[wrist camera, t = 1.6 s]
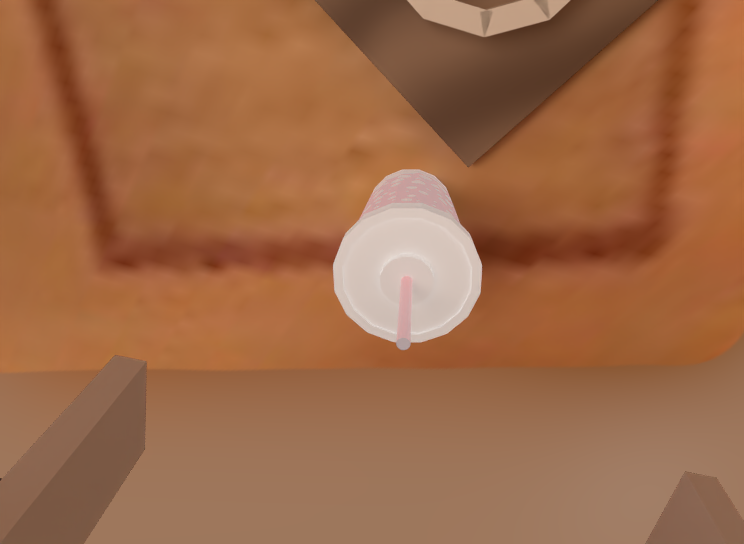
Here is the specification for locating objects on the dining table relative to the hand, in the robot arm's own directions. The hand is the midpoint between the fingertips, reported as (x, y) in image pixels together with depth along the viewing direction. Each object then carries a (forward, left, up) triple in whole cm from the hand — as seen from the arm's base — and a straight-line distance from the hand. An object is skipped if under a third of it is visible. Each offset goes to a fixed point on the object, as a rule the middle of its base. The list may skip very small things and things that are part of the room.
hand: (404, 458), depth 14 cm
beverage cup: (0, 0, -19) cm, 19 cm away
